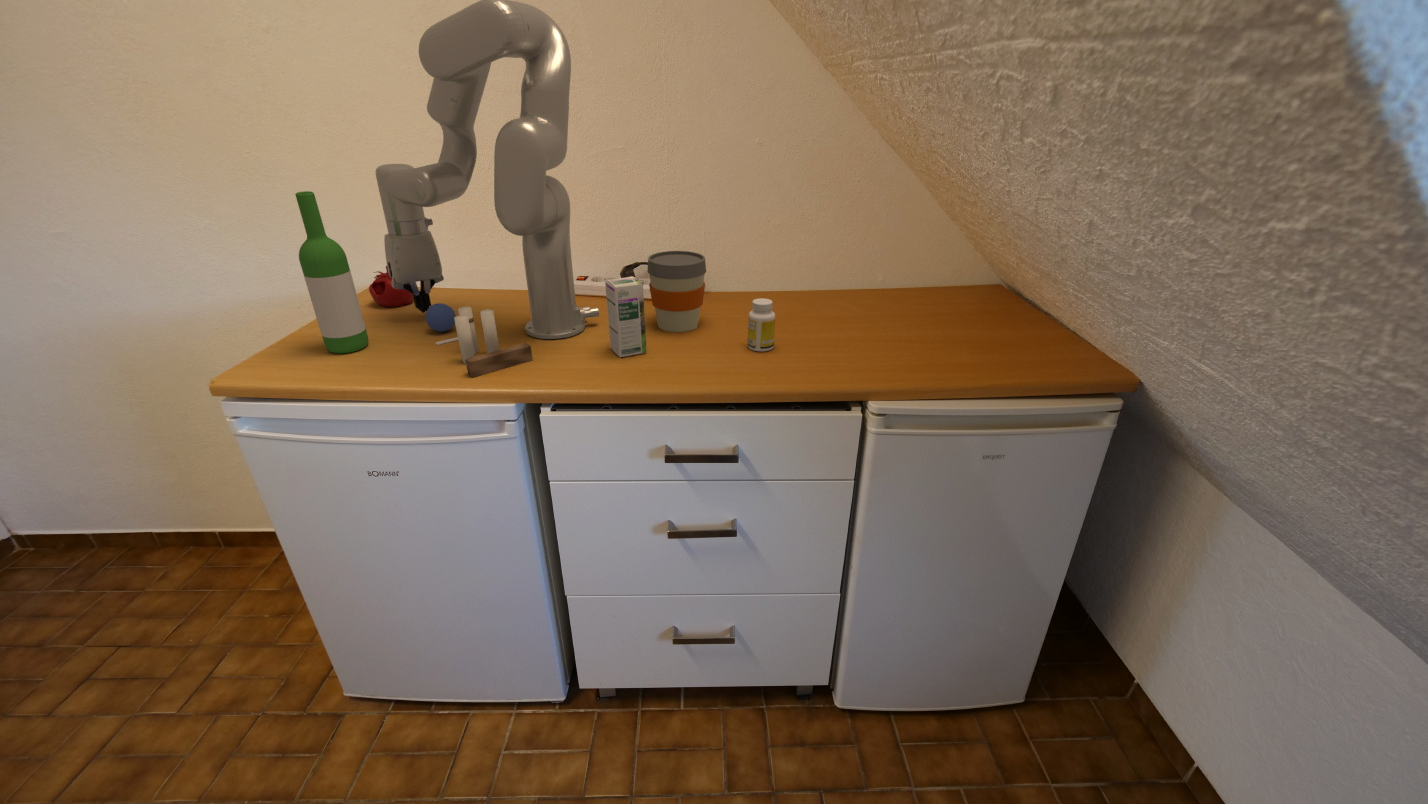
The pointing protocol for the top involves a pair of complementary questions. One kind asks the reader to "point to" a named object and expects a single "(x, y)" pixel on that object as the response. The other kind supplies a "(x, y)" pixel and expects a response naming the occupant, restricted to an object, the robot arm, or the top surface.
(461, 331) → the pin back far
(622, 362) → the top surface
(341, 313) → the wine bottle
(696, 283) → the reusable coffee cup
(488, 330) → the pin back near
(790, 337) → the top surface
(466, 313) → the pin front
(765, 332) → the supplement bottle
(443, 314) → the ball
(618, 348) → the syrup box
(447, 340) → the tape line
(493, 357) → the back rail
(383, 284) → the pomegranate
